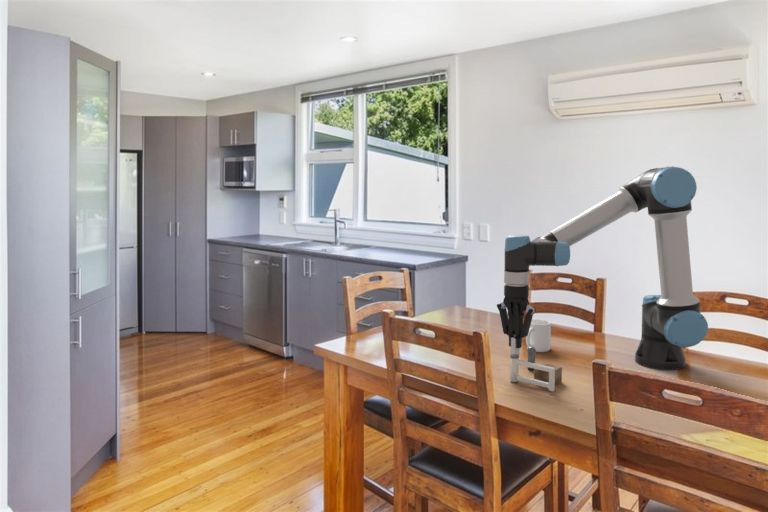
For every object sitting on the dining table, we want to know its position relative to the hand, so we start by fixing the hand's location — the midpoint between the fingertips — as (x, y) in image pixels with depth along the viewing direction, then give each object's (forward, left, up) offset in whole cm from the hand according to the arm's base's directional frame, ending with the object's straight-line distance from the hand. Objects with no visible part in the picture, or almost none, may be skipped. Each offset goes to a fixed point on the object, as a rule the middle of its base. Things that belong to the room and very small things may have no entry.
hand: (515, 357), depth 173 cm
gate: (-9, +6, -6) cm, 12 cm away
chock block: (-11, 0, -6) cm, 13 cm away
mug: (+8, -28, -6) cm, 30 cm away
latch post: (-1, -8, -6) cm, 10 cm away
